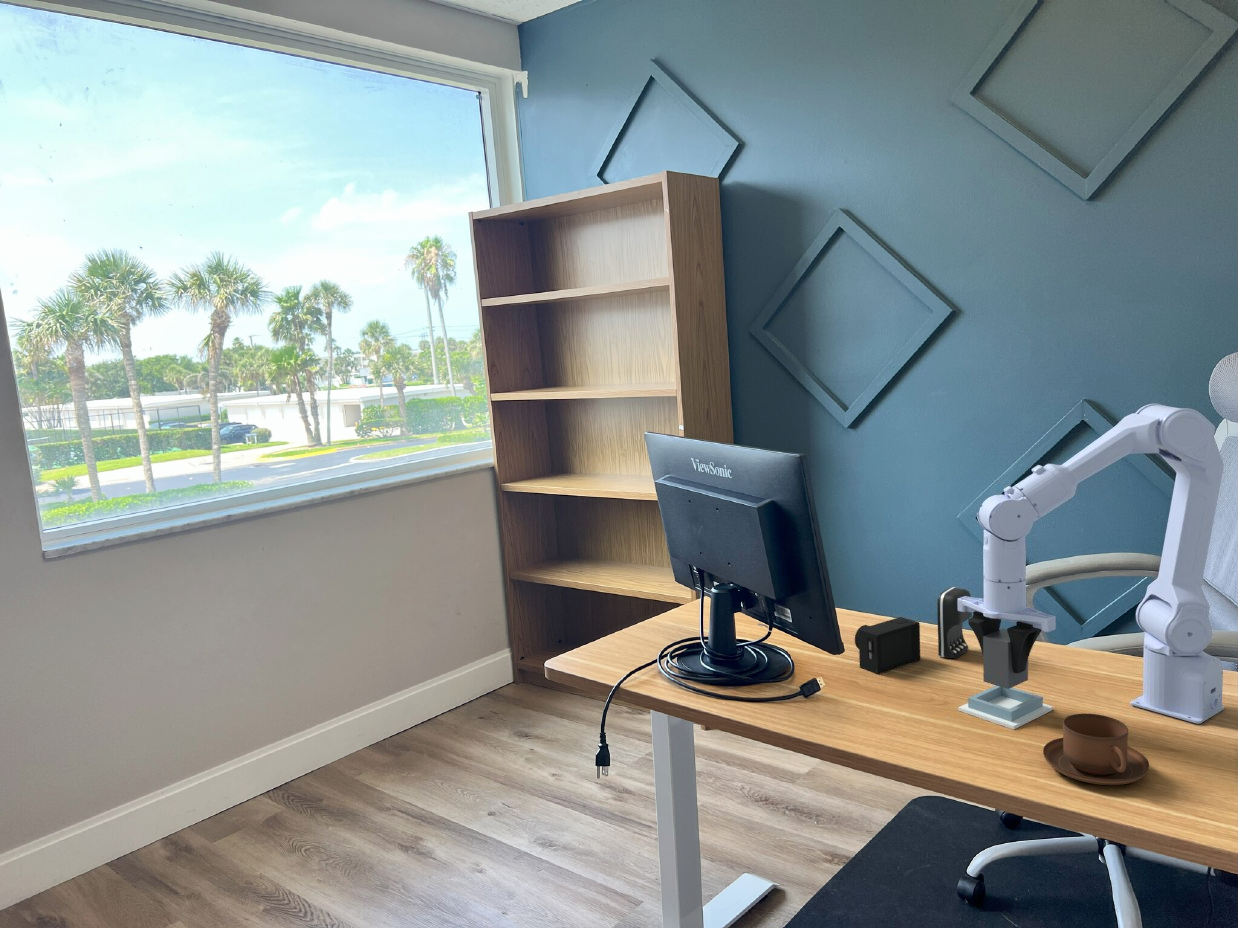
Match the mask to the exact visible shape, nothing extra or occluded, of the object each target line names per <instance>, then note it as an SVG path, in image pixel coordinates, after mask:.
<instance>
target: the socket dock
mask: <svg viewBox="0 0 1238 928" xmlns="http://www.w3.org/2000/svg"><path fill="white" fill-rule="evenodd" d="M957 710H958V711H959V712H961V713H965V714H968V715H970V716H973V717H977V718H978V719H979V718H980V719H981V720H985V721H988V722H991V723H993V724H997V725H1000V726H1003V727H1004V728H1005V727H1006V728H1008V729H1011V730H1015V729H1017V728H1019V727H1022V726H1024V725H1026V724H1028V723H1029V722H1031V721H1033V720H1035V719H1038V718H1039V717H1042V716H1043V715H1045V714H1047V713H1049V712H1052V711H1054V706H1053V705H1049V704H1047V703H1044V697H1043V696H1042V695H1039V694H1034V693H1031V692H1029V691H1025V690H1023V689H1019V688H1015V687H1012V688H1010V689H1006V688H1003V687H1000V686H996V685H994V686H992V687H990V688H987V689H985V690H982V691H981V692H978V693H976V694H974V695H971V696H969V697H967V703H965V704H963V705H960V706H958V709H957Z"/></svg>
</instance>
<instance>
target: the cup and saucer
mask: <svg viewBox="0 0 1238 928" xmlns="http://www.w3.org/2000/svg"><path fill="white" fill-rule="evenodd" d="M1062 735H1063V737H1059V738H1055V739H1052V740H1050V741H1048V742H1047V743H1046V744H1045V745H1044V747H1043V749H1042V754H1043V757H1044V759H1045V761H1046V762H1047V763H1048V764H1049V765H1050V766H1051V767H1052V768H1053V769H1054V770H1056V771H1057V772H1059V773H1060V774H1062V775H1064V776H1066V777H1068V778H1071V779H1074V780H1077V781H1080V782H1084V783H1088V784H1094V785H1099V786H1100V785H1102V786H1103V785H1104V786H1120V785H1121V786H1122V785H1127V784H1132V783H1135V782H1136V781H1139V780H1140V779H1142V778H1144V777H1145V776H1146V775H1147V774H1148V772H1149V768H1150V763H1149V760H1148V758H1146V756H1145V755H1144V754H1143V753H1141V752H1140V751H1138V750H1137V749H1136V748H1133V747H1131V746H1128V745H1129V742H1128V741H1129V728H1128V726H1127V725H1126V724H1125V723H1124V722H1123V721H1120V720H1118V719H1116V718H1113V717H1111V716H1107V715H1103V714H1097V713H1087V712H1086V713H1084V712H1083V713H1075V714H1071V715H1068V716H1066V717H1065V718H1063V720H1062Z"/></svg>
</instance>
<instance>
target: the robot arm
mask: <svg viewBox="0 0 1238 928" xmlns="http://www.w3.org/2000/svg"><path fill="white" fill-rule="evenodd" d="M1215 431H1216V426H1215V425H1214V424H1213V423H1212V422H1211V421H1210V420H1208V418H1206V417H1205V416H1204V415H1203V414H1202V413H1201V412H1199V411H1198V410H1196V409H1193V408H1187V407H1186V408H1185V407H1184V408H1182V407H1174V406H1167V405H1164V404H1161V403H1149V404H1146V405H1144V406H1142V407H1140V408H1139V409H1137V411H1136V412H1135V413H1130V414H1128V415H1126V416H1124V417H1123V418H1122V419H1121V420H1120V421H1119V422H1118V423H1117V424H1116V425H1115V426H1114V427H1112V428H1111V429H1109V430H1108V431H1106V432H1105V433H1104V434H1102V435H1101V436H1100V437H1098V438H1097V439H1095V440H1094V441H1093V442H1091V443H1090V444H1089V445H1087V446H1085V448H1083V449H1082V450H1080V451H1079V452H1078V453H1076V454H1075V455H1073V456H1072V457H1071V458H1069V459H1068V460H1067V461H1065V462H1064V463H1062V464H1054V463H1047V464H1045V465H1043V466H1042V465H1040V464H1037V465H1036V466H1034V467H1033V468H1031V472H1032V474H1030V475H1028V476H1026V477H1025V478H1023V480H1021V481H1019V482H1018V483H1017V484H1015V485H1013V486H1009V485H1008V486H1007V487H1005V488H1003V492H1004V494H994V495H991V496H989V497H988V498H986V499H985V500H984V501H983V502H982V503H981V506H980V507H979V512H977V513H976V518H977V521H978V523H979V525H980V526H981V527H982V529H983V547H982V549H983V551H982V555H983V556H982V557H983V559H982V560H983V562H982V564H983V570H982V571H983V598H981V597H972V596H971V597H967V596H964V597H961V598H958V611H961V612H965V611H968V612H972V617H970V618H969V619H967V621H968V622H967V623H968V625H969V627H970V629H971V630H972V632H973V633H974V635H975V637H976V639H977V642H978V644H979V648H980V650H981V653H982V655H983V636H985V635H988V634H990V633H993V632H995V631H998V630H1000V629H1001V628H1000V627H1001V622H1002V621H1006V622H1009V623H1010V622H1011V623H1015V624H1016V625H1013V626H1009V627H1008V628H1006V629H1007V632H1008V635H1009V638H1010V642H1011V648H1012V667H1013V672H1014V673H1017V674H1018V673H1021V672H1023V671H1025V669H1026V665H1027V661H1028V662H1029V657H1030V654H1031V651H1032V649H1033V647H1034V645H1035V642H1036V640H1037V638H1038V637H1039V636H1040V634H1041V632H1045V633H1050V632H1052V631H1054V630H1056V629H1057V628H1056V626H1057V623H1056V620H1057V619H1056V618H1057V617H1056V615H1052V614H1049V613H1045V612H1043V611H1040V610H1037V609H1035V608H1032V607H1030V606H1027V556H1026V555H1027V548H1026V536H1027V535H1028V534H1030V532H1031V530H1032V528H1033V524H1034V522H1036V521H1038V520H1039V519H1041V518H1043V517H1044V516H1045V515H1048V514H1049V513H1050V512H1052V511H1053V510H1055V509H1056V508H1058V507H1060V506H1061V505H1063V504H1064V503H1066V502H1067V501H1069V500H1070V499H1072V498H1073V497H1074V496H1075V494H1076V491H1077V487H1078V484H1079V483H1081V482H1083V481H1084V480H1086V479H1088V478H1089V477H1091V476H1093V475H1095V474H1096V473H1098V472H1100V471H1102V470H1104V469H1105V468H1106V467H1109V466H1110V465H1112V464H1114V463H1116V462H1117V461H1118V460H1121V459H1123V458H1125V457H1126V456H1127V455H1130V454H1131V455H1132V454H1158V455H1159V456H1160V457H1162V459H1163V460H1165V462H1166V463H1167V464H1168V465H1169V466H1170V467H1171V468H1172V469H1173V470H1174V472H1175V473H1176V475H1175V481H1174V486H1173V491H1172V497H1171V502H1170V509H1169V515H1168V519H1167V525H1166V530H1165V536H1164V543H1163V546H1162V547H1163V548H1162V552H1161V559H1160V564H1159V569H1158V575H1157V577H1156V579H1155V580H1154V581H1152V582H1151V583H1150V584H1149V585H1148V586H1147V587H1146V593H1145V595H1144V597H1143V599H1142V601H1140V603H1139V604H1138V606H1137V608H1136V610H1135V621H1136V623H1137V625H1138V626H1139V628H1140V629H1141V630H1142V631H1143V632H1144V633H1143V634H1144V638H1143V659H1142V660H1143V663H1142V665H1143V666H1142V667H1143V670H1142V695H1140V696H1138V697H1136V698H1134V699H1132V700H1131V701H1130V705H1131V706H1134V707H1138V708H1141V709H1145V710H1149V711H1151V712H1154V713H1158V714H1162V715H1166V716H1169V717H1172V718H1177V719H1179V720H1182V721H1183V720H1184V721H1186V722H1190V723H1194V724H1196V725H1197V724H1198V725H1199V724H1202V723H1203V722H1205V721H1207V720H1209V719H1210V718H1212V717H1213V716H1215V715H1217V714H1218V713H1220V712H1221V711H1223V710H1224V709H1225V706H1224V704H1223V681H1224V680H1223V679H1224V677H1223V676H1224V675H1223V674H1224V668H1223V663H1222V661H1221V659H1220V658H1219V657H1216V656H1213V655H1210V654H1208V653H1206V652H1205V651H1204V650H1205V649H1206V648H1207V647H1208V645H1209V644H1210V642H1211V640H1212V636H1213V628H1212V624H1211V623H1210V622H1211V621H1210V618H1209V615H1210V609H1211V606H1210V603H1209V601H1208V599H1207V597H1206V595H1205V593H1204V591H1203V588H1202V585H1203V584H1202V583H1203V580H1204V574H1205V571H1206V570H1205V569H1206V563H1207V557H1208V552H1209V547H1210V542H1211V536H1212V532H1213V527H1214V526H1213V525H1214V521H1215V517H1216V516H1215V515H1216V511H1217V505H1218V500H1219V496H1220V495H1219V494H1220V489H1221V485H1222V483H1221V482H1222V478H1223V474H1224V473H1223V472H1224V460H1223V458H1222V455H1221V452H1220V450H1219V449H1220V448H1219V445H1218V444H1217V442H1216V439H1215Z"/></svg>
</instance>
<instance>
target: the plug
mask: <svg viewBox="0 0 1238 928" xmlns="http://www.w3.org/2000/svg"><path fill="white" fill-rule="evenodd" d="M982 657H983V658H982V659H983V665H982V666H983V670H982V671H983V672H982V673H983V682H984V683H987V684H991V685H994V686H1000V687H1003V688H1006V689H1010V688H1015V687H1017V686H1018V685H1021V684H1023V683H1025V682H1026V681H1028V680H1029V660H1028V661H1027V665H1026V669H1025V671H1023V672H1021V673H1018V674H1017V673H1014V672H1013V667H1012V648H1011V642H1010V638H1009V635H1008V632H1007V628H999V630H998V631H995V632H993V633H990V634H988V635H985V636H983V654H982Z"/></svg>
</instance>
